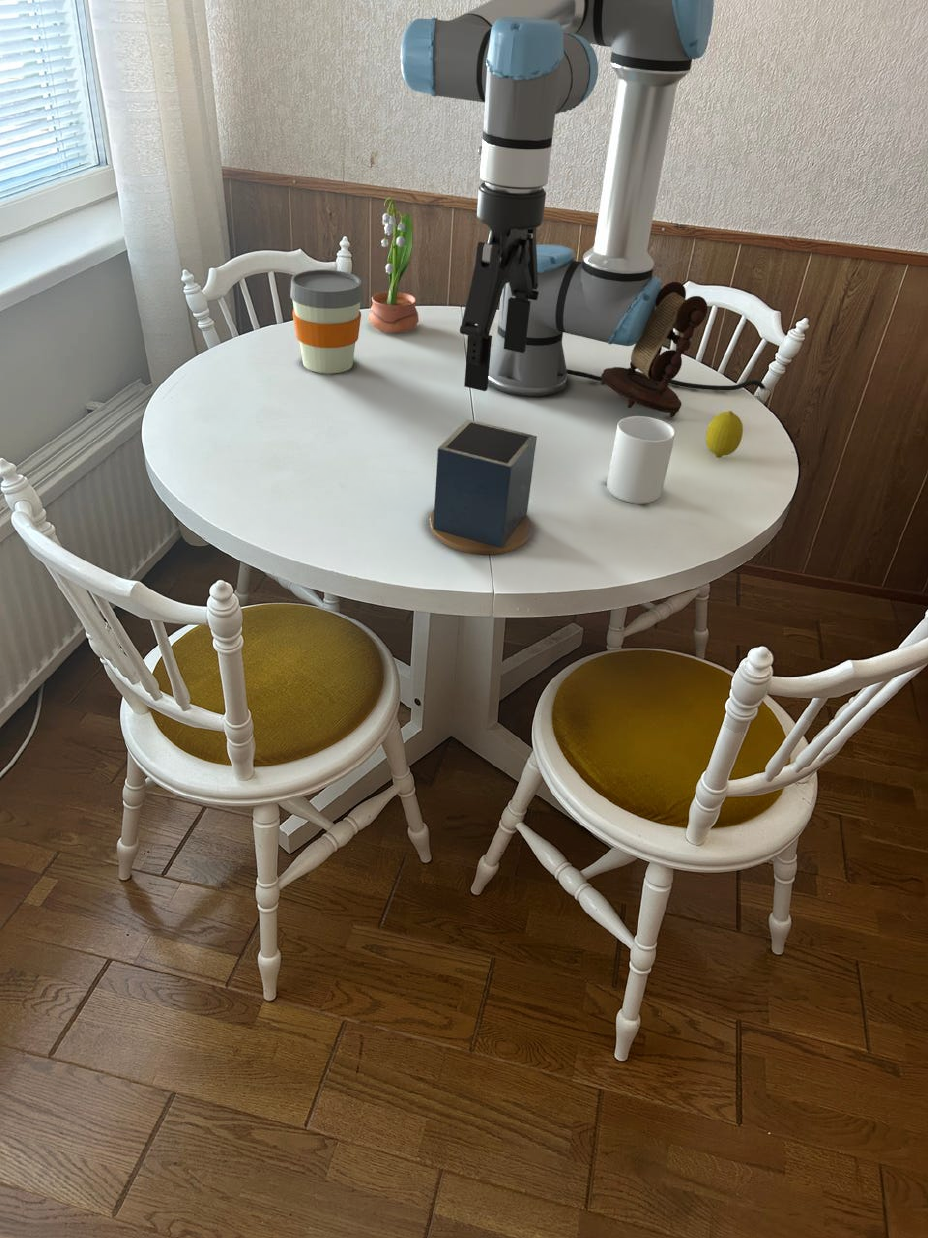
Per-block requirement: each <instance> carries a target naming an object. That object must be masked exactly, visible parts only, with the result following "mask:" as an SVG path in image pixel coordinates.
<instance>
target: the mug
mask: <svg viewBox="0 0 928 1238" xmlns="http://www.w3.org/2000/svg"><path fill="white" fill-rule="evenodd" d="M675 438H676V430H675V428H674V427H673V426H672V425H671V424H669V423H668V422H666V421H664V420H661V419H658V418H655V417H652V416H651V417H650V416H644V415H643V416H642V415H633V416H632V415H631V416H626V417H623V418H621V419H620V420H619V421H618V423H617V425H616V432H615V436H614V441H613V448H612V453H611V458H610V463H609V468H608V475H607V481H606V487H607V490H608V492H609V493H610V494H611V495H612V496H613V497H614V498H615V499H618V500H619V501H622V502H625V503H629V504H636V505H644V504H645V505H646V504H651V503H653V502H656V501H657V500H658V499H659V498H660V497H661V495H662V492H663V489H664V485H665V481H666V476H667V473H668V467H669V464H670V461H671V460H670V459H671V455H672V451H673V446H674V442H675Z"/></svg>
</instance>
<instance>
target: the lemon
mask: <svg viewBox="0 0 928 1238" xmlns="http://www.w3.org/2000/svg"><path fill="white" fill-rule="evenodd" d="M743 425H744V424H743V422H742V420H741V418H740V417H739V416H738V415H737V414H735V412H734V411H732V410H728V411H725V412H720V413H719V414H716V416H714V417H713V418H712V419H711V421H710V423H709V425H708V427H707V430H706V434H705V443H706V444H705V445H706V446H707V448H708V450H709V451H710V452H711V453H712V454H714V455H715V458H719V459H720V458H723V457H724V456H725V457H726V456H729V455H732V454H733V453H734V452H735V451H736V450H737V449H738V448H739V446H740V444H741V442H742V439H743V433H744V426H743Z"/></svg>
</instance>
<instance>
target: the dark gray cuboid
mask: <svg viewBox="0 0 928 1238" xmlns="http://www.w3.org/2000/svg"><path fill="white" fill-rule="evenodd" d="M537 440H538V436H537V435H534V434H533V435H532V434H529V433H526V432H521V431H517V430H513V429H509V428H506V427H501V426H496V425H493V424H489V423H485V422H481V421H477V420H473V419H468V418H467V419H466V420H465V421H464V422H463V423H462V424H461V425H460V426H459V427H458V428H457V429H456V430H455V431H454V432H453V433H452V434H451V435H450V436H449V437H448V438H446V440H445V441H444V442H443V443H442V444H441V445H440V446H438V448H437V455H436V470H435V471H436V474H435V490H434V505H433V506H434V507H433V510H434V520H433V529H435V530H439V531H442V532H446V533H449V534H453V535H456V536H460V537H464V538H467V539H471V540H474V541H478V542H481V543H485V544H488V545H492V546H495V547H499V548H502V547H503V546H504V545H505V543H506V542H507V541H508V539H509V538H510V536H511V535H512V534H513V532H514V531H515V530H516V528H517V527H518V526H519V524H520V523H521V521H522V520H523V519H524V517H525V516H526V515H527V514H528V509H529V500H530V493H531V484H532V479H533V478H532V477H533V472H534V471H533V469H534V463H535V454H536V446H537ZM527 516H528V515H527Z"/></svg>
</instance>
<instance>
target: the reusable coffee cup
mask: <svg viewBox="0 0 928 1238" xmlns="http://www.w3.org/2000/svg"><path fill="white" fill-rule="evenodd" d="M289 293H290V294H289V297H290V299H291V300H292V304H293V305H292V307H293V309H292V313H291V314H292V320H293V325H294V331H295V338H296V339H297V340H298V341H299V346H300V352H301V359H302V364H303V366H304V368H306V369H307V370H308V371H312V372H314V373H319V374H338V373H343V372H347V371H348V370H351V368H352V367H353V365H354V364H353V363H354V356H355V347H356V342H358V340H359V335H360V334H359V333H360V326H361V320H362V312H361V311H360V309H361V302H362V301H363V287H362V280H361V278H359V277H358V276H357V275H355V274H353V273H350V272H347V271H342V270H338V269H309V270H303V271H299V272H297V273H294V275H293V276H291V278H290V292H289Z"/></svg>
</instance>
